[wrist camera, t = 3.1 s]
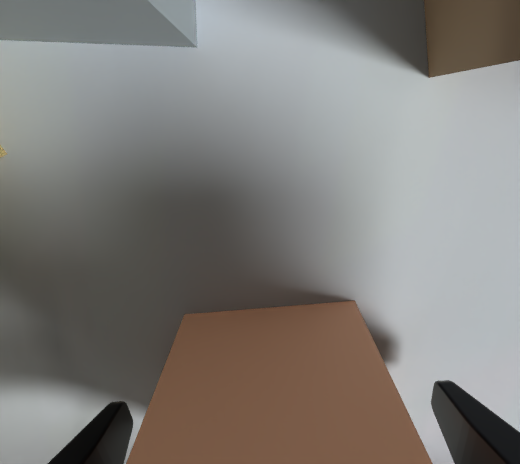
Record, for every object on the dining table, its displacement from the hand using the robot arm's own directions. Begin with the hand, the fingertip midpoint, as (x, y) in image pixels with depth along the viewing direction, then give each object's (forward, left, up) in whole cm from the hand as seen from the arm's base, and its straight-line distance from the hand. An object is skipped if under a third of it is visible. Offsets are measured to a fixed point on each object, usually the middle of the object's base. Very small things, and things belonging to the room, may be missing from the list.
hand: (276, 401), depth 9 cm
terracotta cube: (0, 0, -1) cm, 1 cm away
